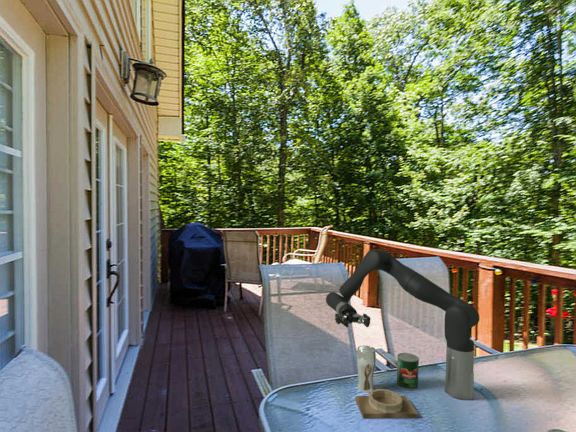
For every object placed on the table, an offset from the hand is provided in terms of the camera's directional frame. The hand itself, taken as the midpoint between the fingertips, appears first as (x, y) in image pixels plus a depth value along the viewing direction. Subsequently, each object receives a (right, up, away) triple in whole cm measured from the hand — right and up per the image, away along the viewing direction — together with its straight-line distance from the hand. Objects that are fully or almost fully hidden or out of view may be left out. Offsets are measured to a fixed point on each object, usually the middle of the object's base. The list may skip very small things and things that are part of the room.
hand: (357, 324), depth 145 cm
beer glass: (+1, -21, -10) cm, 23 cm away
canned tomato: (+18, -21, -6) cm, 29 cm away
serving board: (+5, -21, -24) cm, 32 cm away
